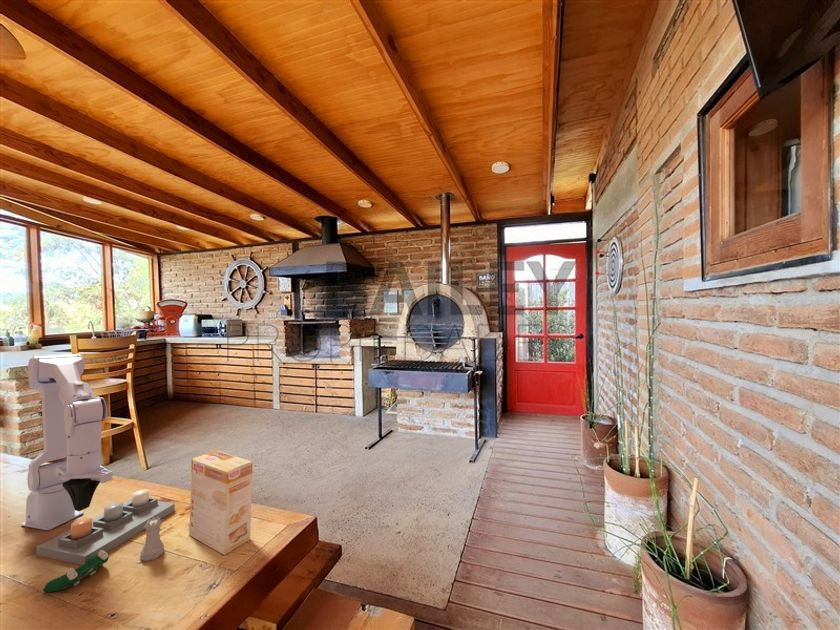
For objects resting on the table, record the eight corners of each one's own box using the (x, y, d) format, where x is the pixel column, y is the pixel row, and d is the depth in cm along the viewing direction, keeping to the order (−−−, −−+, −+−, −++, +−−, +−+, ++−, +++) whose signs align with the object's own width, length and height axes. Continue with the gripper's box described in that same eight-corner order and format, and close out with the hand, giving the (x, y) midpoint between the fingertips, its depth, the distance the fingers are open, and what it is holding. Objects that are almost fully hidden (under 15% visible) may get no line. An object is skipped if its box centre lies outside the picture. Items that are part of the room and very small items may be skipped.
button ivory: (128, 506, 93) (128, 495, 93) (141, 499, 96) (141, 488, 96) (139, 507, 92) (139, 496, 92) (152, 501, 96) (152, 490, 96)
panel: (36, 555, 78) (36, 539, 78) (134, 504, 99) (134, 492, 99) (84, 565, 75) (85, 549, 75) (174, 510, 97) (174, 498, 97)
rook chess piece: (168, 551, 80) (170, 517, 80) (148, 564, 76) (149, 528, 76) (155, 546, 82) (156, 513, 82) (134, 559, 78) (136, 523, 78)
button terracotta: (66, 538, 79) (66, 525, 79) (84, 529, 83) (84, 516, 83) (78, 540, 78) (78, 527, 78) (96, 531, 82) (96, 518, 82)
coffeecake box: (251, 539, 85) (253, 461, 86) (223, 556, 79) (226, 472, 79) (215, 521, 93) (218, 449, 93) (187, 535, 86) (190, 458, 86)
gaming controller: (49, 605, 67) (67, 587, 66) (39, 588, 68) (57, 571, 67) (101, 571, 76) (117, 555, 75) (92, 557, 77) (108, 541, 76)
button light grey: (99, 521, 86) (100, 509, 86) (115, 513, 89) (115, 501, 89) (111, 523, 85) (111, 511, 85) (126, 515, 89) (126, 503, 89)
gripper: (39, 454, 78) (36, 513, 78) (89, 461, 75) (87, 522, 75) (75, 443, 85) (73, 498, 85) (122, 449, 82) (120, 505, 82)
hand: (82, 508), depth 81 cm, fingers closed
